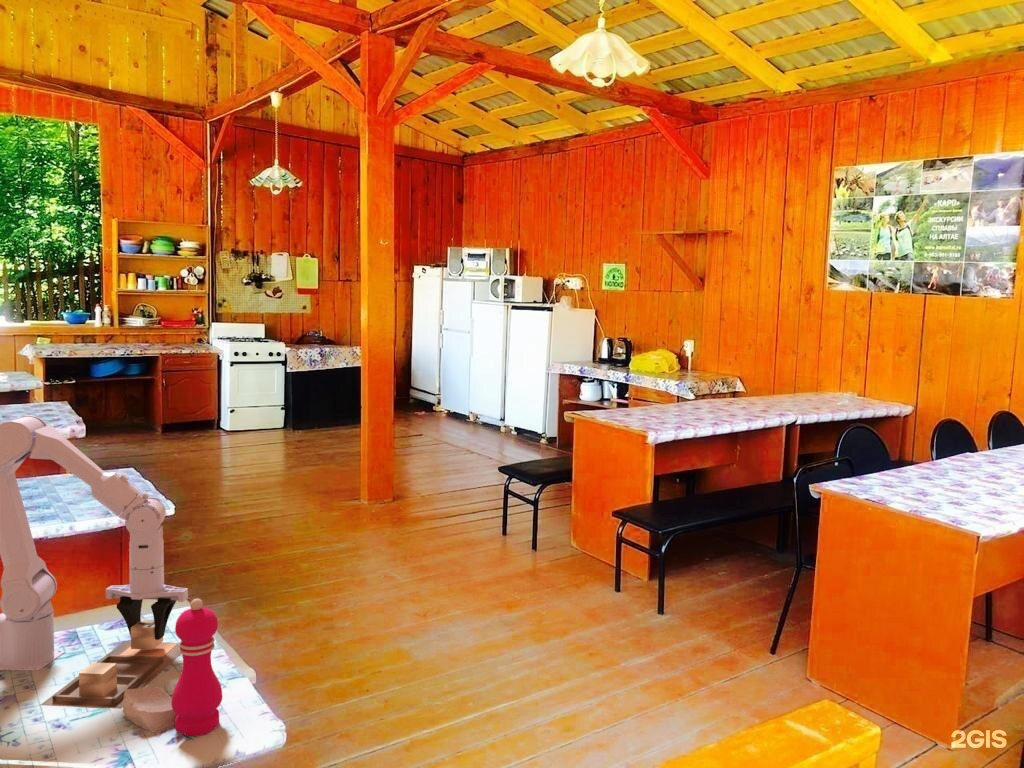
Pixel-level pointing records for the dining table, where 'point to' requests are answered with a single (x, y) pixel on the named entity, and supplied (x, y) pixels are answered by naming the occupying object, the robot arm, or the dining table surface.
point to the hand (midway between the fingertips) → (147, 637)
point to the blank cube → (98, 679)
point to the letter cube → (144, 635)
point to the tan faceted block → (149, 708)
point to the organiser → (121, 675)
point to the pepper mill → (196, 673)
